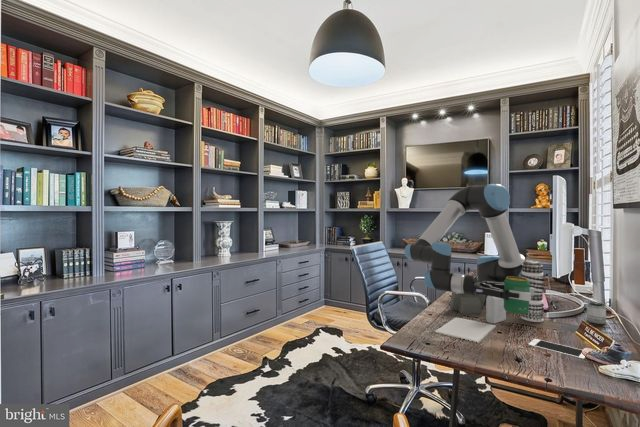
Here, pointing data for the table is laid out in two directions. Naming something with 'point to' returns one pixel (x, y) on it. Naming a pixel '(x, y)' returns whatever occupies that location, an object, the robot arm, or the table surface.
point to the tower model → (534, 276)
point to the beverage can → (515, 304)
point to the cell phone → (557, 348)
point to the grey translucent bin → (467, 303)
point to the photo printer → (495, 309)
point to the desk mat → (466, 329)
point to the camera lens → (596, 312)
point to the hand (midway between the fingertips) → (532, 294)
